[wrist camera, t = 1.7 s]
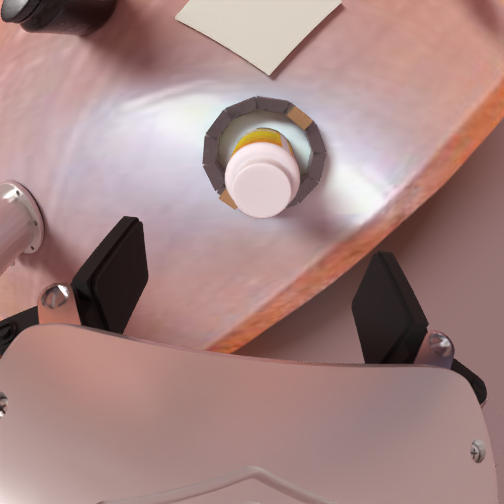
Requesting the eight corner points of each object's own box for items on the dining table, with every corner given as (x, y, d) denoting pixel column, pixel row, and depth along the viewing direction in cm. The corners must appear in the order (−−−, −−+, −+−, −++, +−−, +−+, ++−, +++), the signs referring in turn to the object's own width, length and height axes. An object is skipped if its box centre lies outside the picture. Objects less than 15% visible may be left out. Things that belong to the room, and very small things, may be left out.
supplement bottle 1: (130, -11, 16) (62, -39, 6) (97, 42, 19) (18, 40, 9) (89, -21, 14) (19, -39, 4) (60, 28, 17) (-16, 30, 7)
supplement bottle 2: (224, 153, 26) (201, 191, 18) (264, 115, 24) (262, 132, 16) (263, 190, 29) (260, 243, 20) (303, 155, 26) (321, 194, 18)
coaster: (269, 75, 22) (269, 75, 21) (176, 19, 18) (174, 18, 18) (340, 3, 17) (342, 1, 16) (247, -53, 13) (246, -55, 13)
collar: (272, 224, 31) (272, 235, 29) (185, 164, 27) (179, 171, 25) (344, 148, 25) (350, 154, 23) (253, 74, 22) (252, 73, 20)
